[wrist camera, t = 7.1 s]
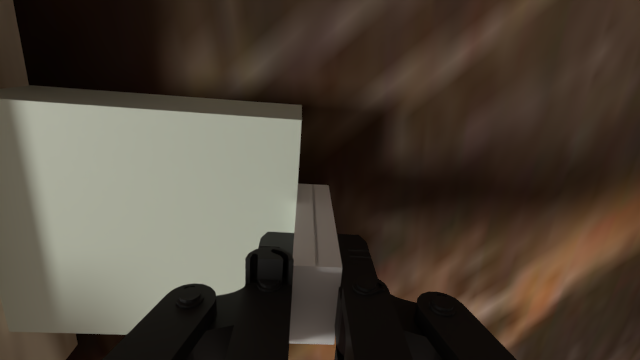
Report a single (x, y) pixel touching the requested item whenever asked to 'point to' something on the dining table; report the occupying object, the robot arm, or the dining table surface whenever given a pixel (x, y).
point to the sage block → (133, 200)
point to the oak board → (3, 346)
